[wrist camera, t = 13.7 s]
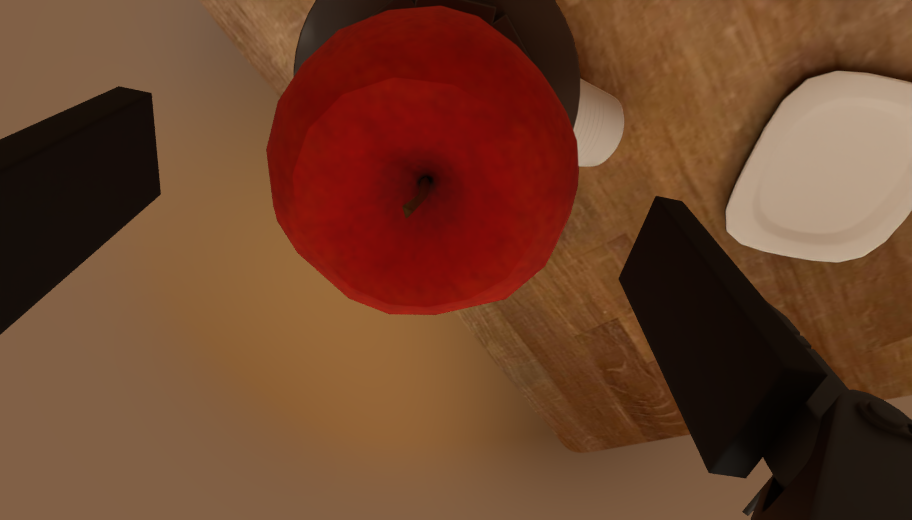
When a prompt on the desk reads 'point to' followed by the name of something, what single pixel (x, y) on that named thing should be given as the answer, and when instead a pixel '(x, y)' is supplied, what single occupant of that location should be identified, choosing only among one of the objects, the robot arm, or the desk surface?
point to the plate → (828, 170)
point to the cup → (597, 125)
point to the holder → (497, 3)
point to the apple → (422, 162)
